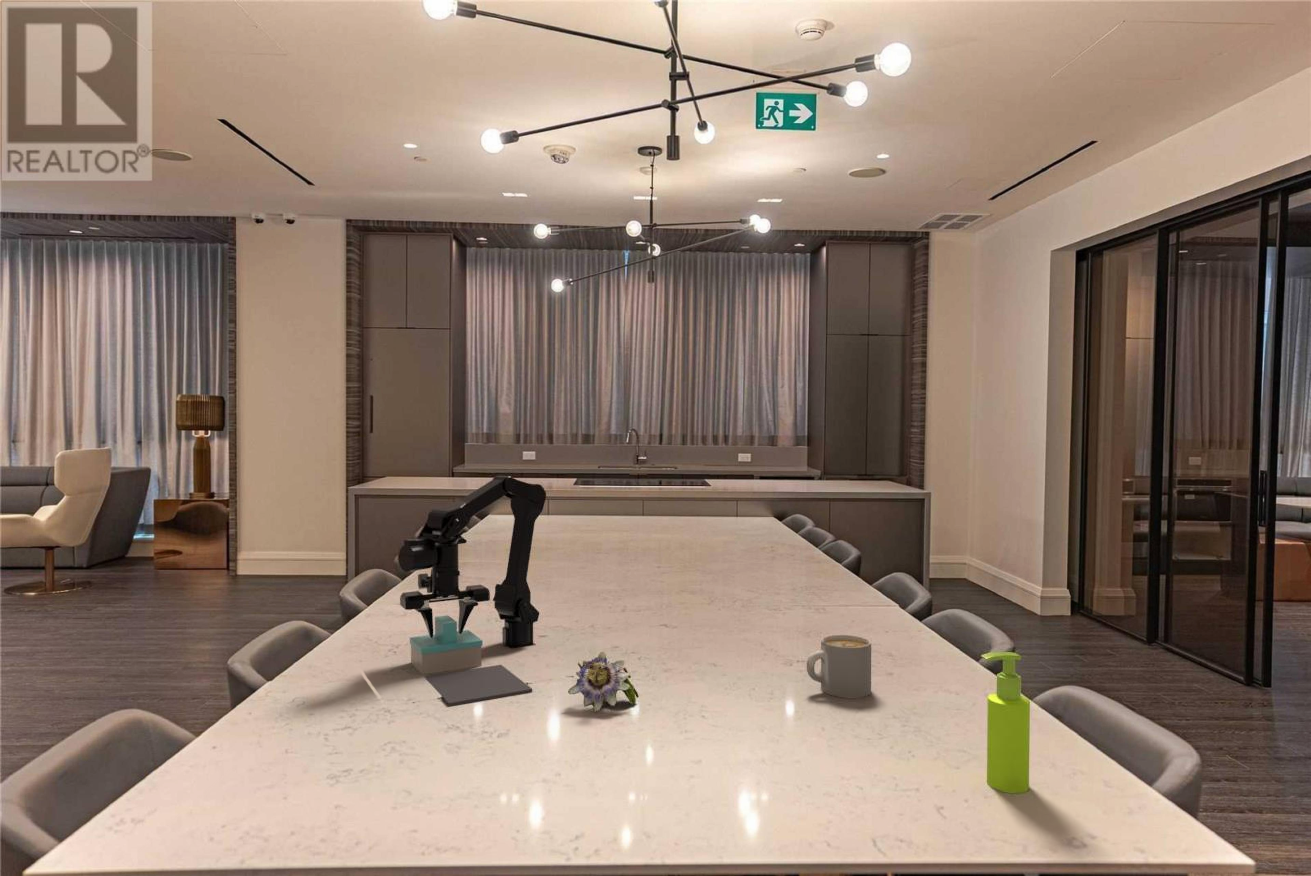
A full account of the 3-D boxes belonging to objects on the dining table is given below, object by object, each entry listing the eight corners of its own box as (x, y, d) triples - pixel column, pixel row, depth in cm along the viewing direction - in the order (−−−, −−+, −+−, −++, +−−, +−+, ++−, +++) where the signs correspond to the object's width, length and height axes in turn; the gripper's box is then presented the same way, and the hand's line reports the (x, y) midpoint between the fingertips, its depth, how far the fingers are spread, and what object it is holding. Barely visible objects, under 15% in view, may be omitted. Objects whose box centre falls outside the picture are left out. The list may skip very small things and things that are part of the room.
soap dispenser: (973, 777, 129) (974, 648, 129) (1016, 775, 130) (1017, 647, 129) (991, 794, 124) (993, 659, 123) (1036, 792, 124) (1038, 658, 124)
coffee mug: (862, 681, 176) (862, 634, 176) (877, 697, 166) (878, 647, 166) (799, 682, 175) (799, 635, 175) (811, 698, 165) (811, 648, 165)
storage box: (468, 656, 194) (467, 635, 194) (481, 668, 185) (481, 645, 185) (411, 665, 188) (410, 642, 188) (422, 677, 179) (422, 654, 179)
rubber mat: (501, 667, 186) (501, 664, 186) (532, 691, 170) (532, 688, 170) (424, 679, 178) (424, 676, 178) (448, 706, 161) (448, 703, 161)
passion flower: (598, 739, 159) (560, 692, 157) (599, 708, 170) (564, 664, 167) (647, 707, 158) (610, 659, 156) (645, 679, 168) (611, 633, 166)
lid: (468, 638, 194) (468, 611, 194) (482, 649, 185) (482, 620, 185) (409, 646, 188) (409, 618, 188) (421, 658, 179) (421, 628, 179)
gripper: (475, 556, 198) (475, 622, 198) (394, 563, 188) (394, 632, 189) (490, 563, 188) (490, 633, 188) (405, 571, 179) (406, 644, 179)
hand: (445, 635), depth 186 cm, fingers open, 6 cm apart
